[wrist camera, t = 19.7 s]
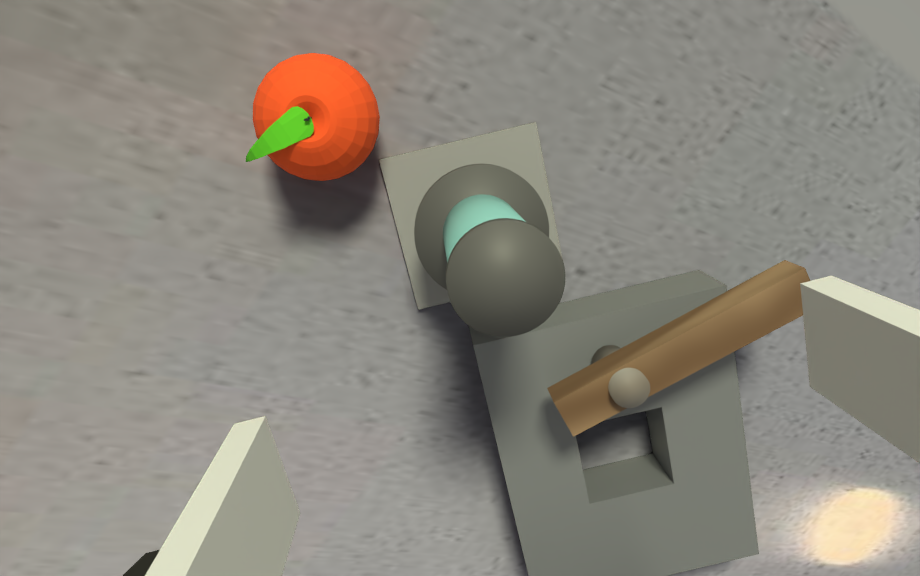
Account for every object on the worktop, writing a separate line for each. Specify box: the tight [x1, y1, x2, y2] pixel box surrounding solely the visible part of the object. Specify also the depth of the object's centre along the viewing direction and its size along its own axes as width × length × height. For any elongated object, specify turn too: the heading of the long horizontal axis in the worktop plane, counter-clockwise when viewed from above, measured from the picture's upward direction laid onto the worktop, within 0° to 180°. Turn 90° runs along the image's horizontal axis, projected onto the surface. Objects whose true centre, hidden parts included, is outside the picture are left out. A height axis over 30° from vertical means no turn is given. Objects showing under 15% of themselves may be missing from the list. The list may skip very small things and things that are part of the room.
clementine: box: [246, 53, 380, 181], centre depth 36 cm, size 8×7×7 cm
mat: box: [379, 122, 562, 310], centre depth 41 cm, size 10×10×1 cm
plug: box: [414, 164, 565, 337], centre depth 33 cm, size 8×8×16 cm
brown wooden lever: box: [547, 260, 810, 437], centre depth 37 cm, size 2×16×4 cm, turn 120°
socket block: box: [469, 270, 759, 576], centre depth 44 cm, size 16×20×4 cm
